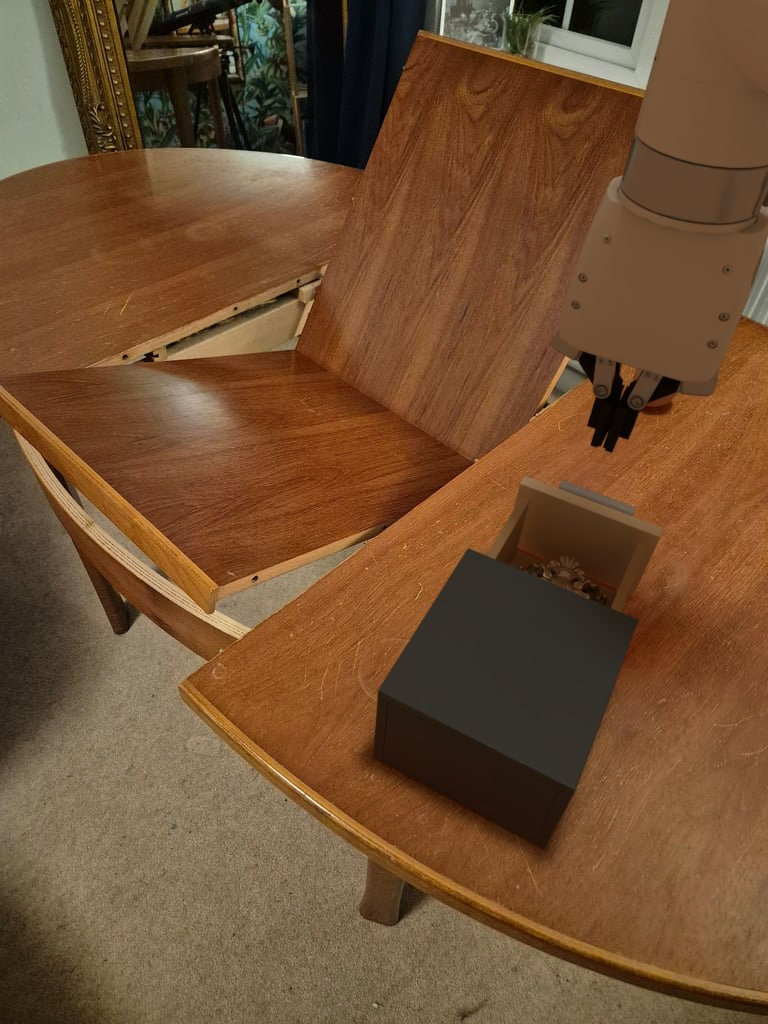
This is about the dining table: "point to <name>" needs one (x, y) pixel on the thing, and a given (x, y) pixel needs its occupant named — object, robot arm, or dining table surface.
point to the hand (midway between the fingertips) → (606, 438)
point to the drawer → (579, 535)
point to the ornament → (567, 577)
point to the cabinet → (502, 694)
